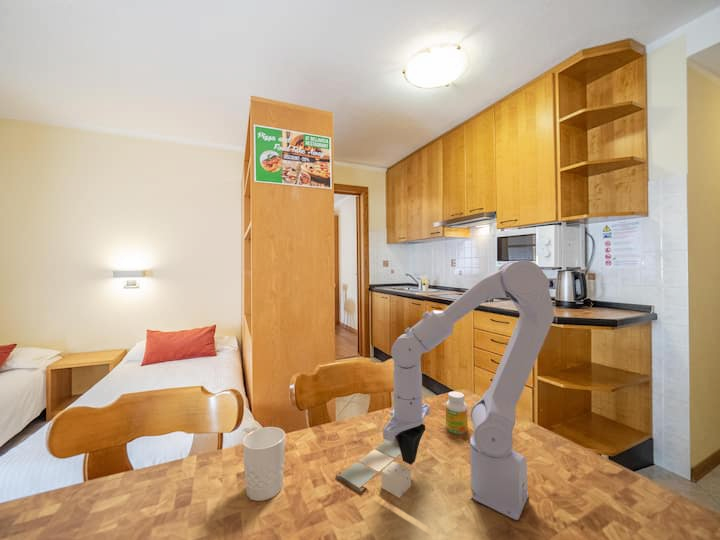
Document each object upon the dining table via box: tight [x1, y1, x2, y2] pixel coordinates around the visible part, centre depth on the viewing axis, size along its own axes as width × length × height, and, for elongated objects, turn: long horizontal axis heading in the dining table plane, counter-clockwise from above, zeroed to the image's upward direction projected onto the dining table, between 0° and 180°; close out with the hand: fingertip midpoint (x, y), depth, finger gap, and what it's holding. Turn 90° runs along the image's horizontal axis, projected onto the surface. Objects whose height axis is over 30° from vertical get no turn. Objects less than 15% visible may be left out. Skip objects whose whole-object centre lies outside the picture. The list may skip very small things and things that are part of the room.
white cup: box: [242, 426, 286, 502], centre depth 58 cm, size 8×8×10 cm
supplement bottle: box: [445, 391, 469, 435], centre depth 78 cm, size 5×5×10 cm
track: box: [335, 437, 401, 495], centre depth 68 cm, size 7×24×1 cm, turn 139°
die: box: [380, 460, 412, 499], centre depth 57 cm, size 4×4×4 cm
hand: (408, 461), depth 61 cm, fingers closed
